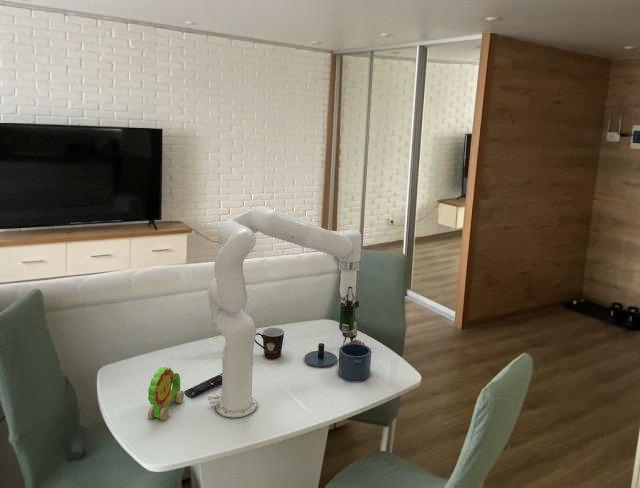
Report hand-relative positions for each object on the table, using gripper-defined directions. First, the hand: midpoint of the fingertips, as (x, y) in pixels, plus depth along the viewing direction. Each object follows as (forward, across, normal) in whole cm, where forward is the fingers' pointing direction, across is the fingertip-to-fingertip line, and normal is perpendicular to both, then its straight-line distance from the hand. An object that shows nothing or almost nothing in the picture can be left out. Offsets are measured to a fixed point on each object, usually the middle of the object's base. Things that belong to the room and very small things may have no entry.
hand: (347, 312), depth 191 cm
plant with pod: (+25, -24, +6) cm, 35 cm away
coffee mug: (+25, -18, -28) cm, 41 cm away
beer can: (+7, 0, 0) cm, 7 cm away
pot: (+25, -2, +4) cm, 25 cm away
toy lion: (+25, +22, -59) cm, 68 cm away
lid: (+24, -13, -8) cm, 28 cm away
